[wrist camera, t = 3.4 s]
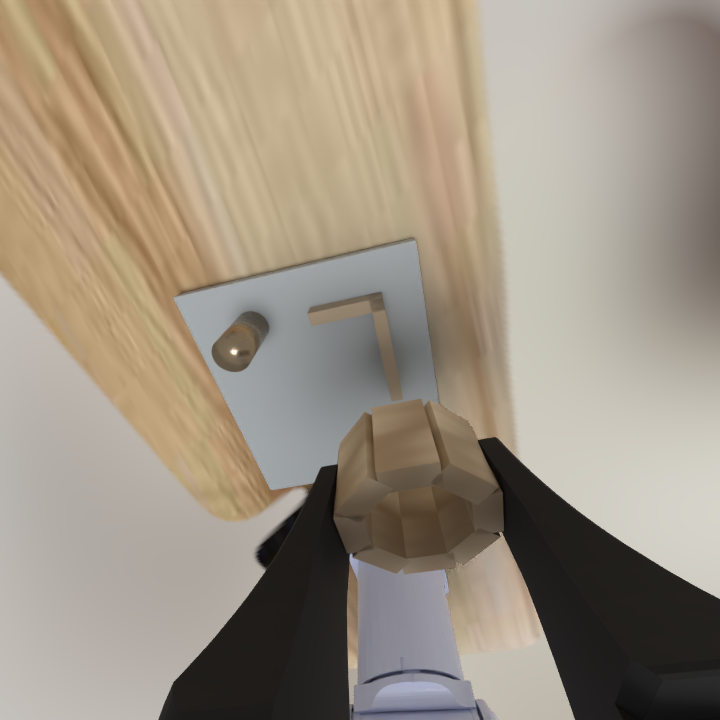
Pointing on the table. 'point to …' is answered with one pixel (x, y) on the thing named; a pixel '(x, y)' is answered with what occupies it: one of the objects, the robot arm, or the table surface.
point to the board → (319, 352)
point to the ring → (415, 490)
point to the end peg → (240, 342)
